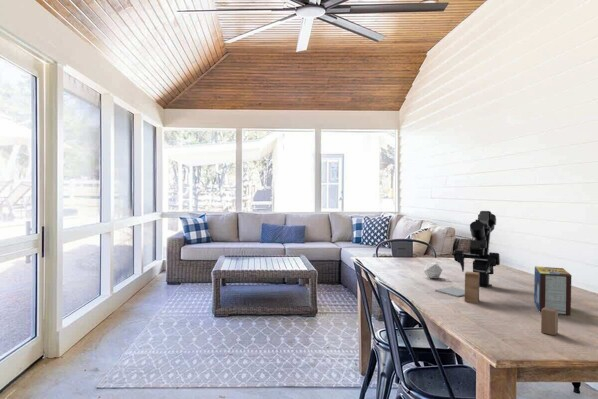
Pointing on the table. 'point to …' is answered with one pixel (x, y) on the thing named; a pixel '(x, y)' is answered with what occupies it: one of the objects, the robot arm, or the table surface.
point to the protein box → (552, 289)
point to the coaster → (452, 291)
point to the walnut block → (472, 287)
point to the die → (432, 270)
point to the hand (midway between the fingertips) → (474, 272)
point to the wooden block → (549, 321)
